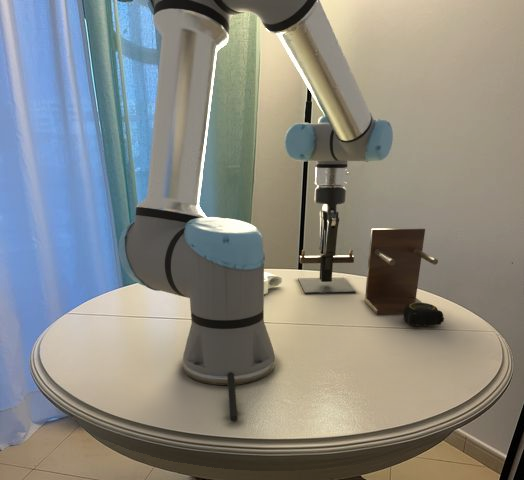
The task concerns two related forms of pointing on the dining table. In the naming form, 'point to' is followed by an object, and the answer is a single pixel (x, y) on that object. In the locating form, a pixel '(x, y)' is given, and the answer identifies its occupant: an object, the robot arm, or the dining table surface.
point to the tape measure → (422, 314)
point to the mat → (325, 286)
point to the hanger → (319, 259)
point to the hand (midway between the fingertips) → (325, 280)
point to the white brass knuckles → (271, 281)
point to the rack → (394, 268)
